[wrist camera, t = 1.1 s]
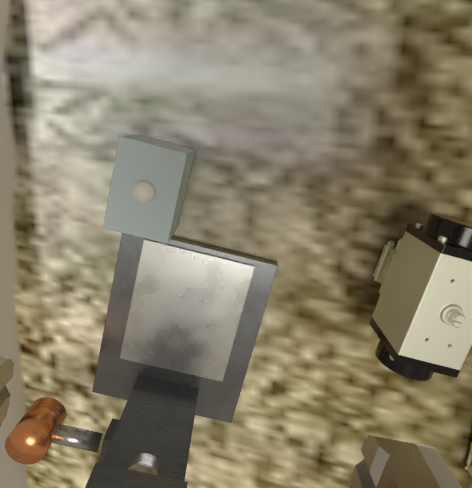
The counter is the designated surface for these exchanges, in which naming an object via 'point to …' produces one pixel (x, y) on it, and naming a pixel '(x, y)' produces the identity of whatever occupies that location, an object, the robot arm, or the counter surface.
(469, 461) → the storage basket
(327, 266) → the counter surface
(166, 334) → the press
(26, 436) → the lever
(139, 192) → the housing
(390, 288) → the pneumatic valve
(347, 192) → the counter surface
